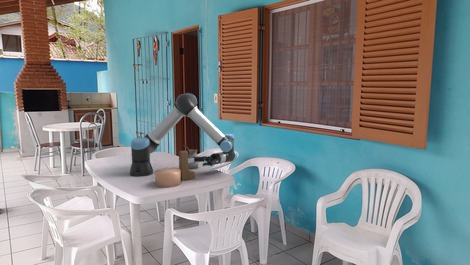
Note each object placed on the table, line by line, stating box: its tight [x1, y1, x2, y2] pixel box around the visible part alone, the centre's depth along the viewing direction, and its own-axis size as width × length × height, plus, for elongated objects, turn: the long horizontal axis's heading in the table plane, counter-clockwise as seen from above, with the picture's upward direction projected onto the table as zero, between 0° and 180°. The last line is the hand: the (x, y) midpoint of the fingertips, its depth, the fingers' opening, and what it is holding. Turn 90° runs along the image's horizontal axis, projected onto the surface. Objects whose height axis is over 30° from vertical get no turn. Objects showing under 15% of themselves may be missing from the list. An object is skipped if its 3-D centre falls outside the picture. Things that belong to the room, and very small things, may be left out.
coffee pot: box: [183, 144, 200, 170], centre depth 246 cm, size 21×12×15 cm, turn 30°
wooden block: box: [178, 150, 196, 182], centre depth 213 cm, size 9×4×18 cm, turn 120°
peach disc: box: [154, 167, 182, 188], centre depth 203 cm, size 15×15×8 cm
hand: (191, 163), depth 214 cm, fingers open, 13 cm apart
